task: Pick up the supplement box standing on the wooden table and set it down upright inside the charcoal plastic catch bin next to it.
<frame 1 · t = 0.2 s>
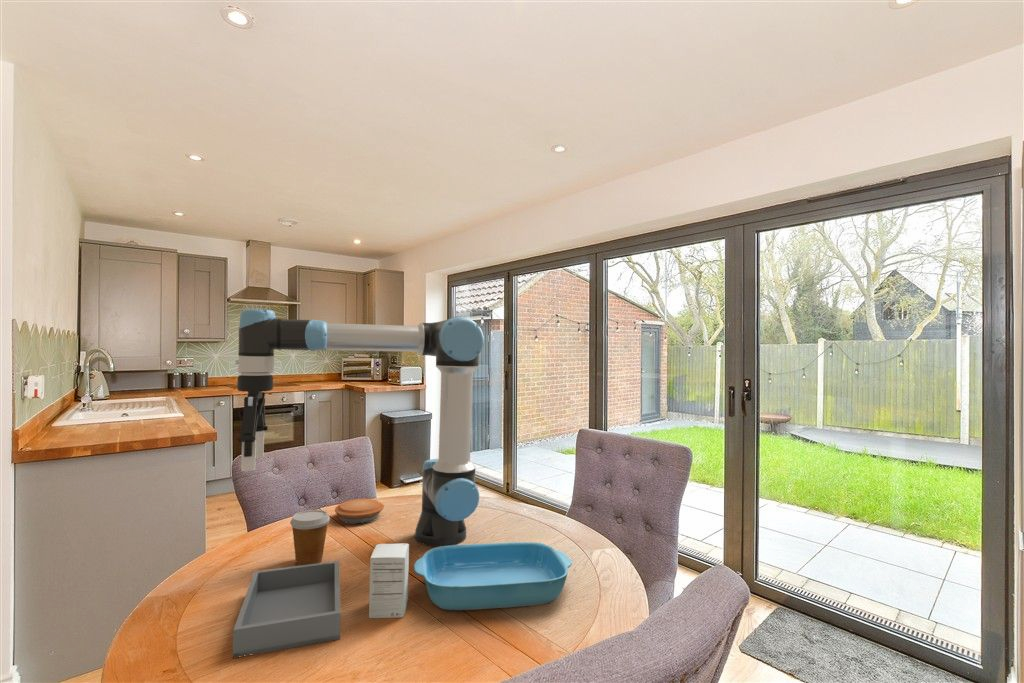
hand: (252, 463, 114), 28 cm above the table, tool pointing down, fingers open, 13 cm apart
casserole dish: (493, 591, 112), on the table
disposable coffee cup: (309, 562, 125), on the table
catch bin: (293, 614, 100), on the table
pie: (359, 518, 158), on the table
supplement box: (388, 610, 102), on the table
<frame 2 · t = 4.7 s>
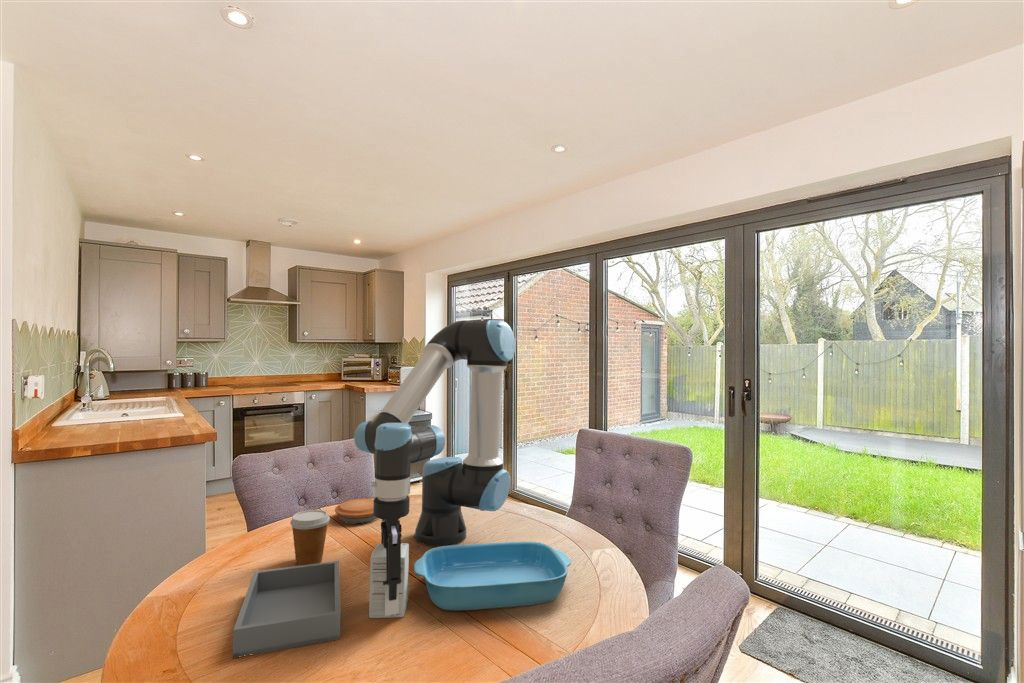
hand: (389, 602, 102), 1 cm above the table, tool pointing down, fingers closed on supplement box, 8 cm apart
supplement box: (388, 610, 102), on the table, touching gripper
everything else where it was.
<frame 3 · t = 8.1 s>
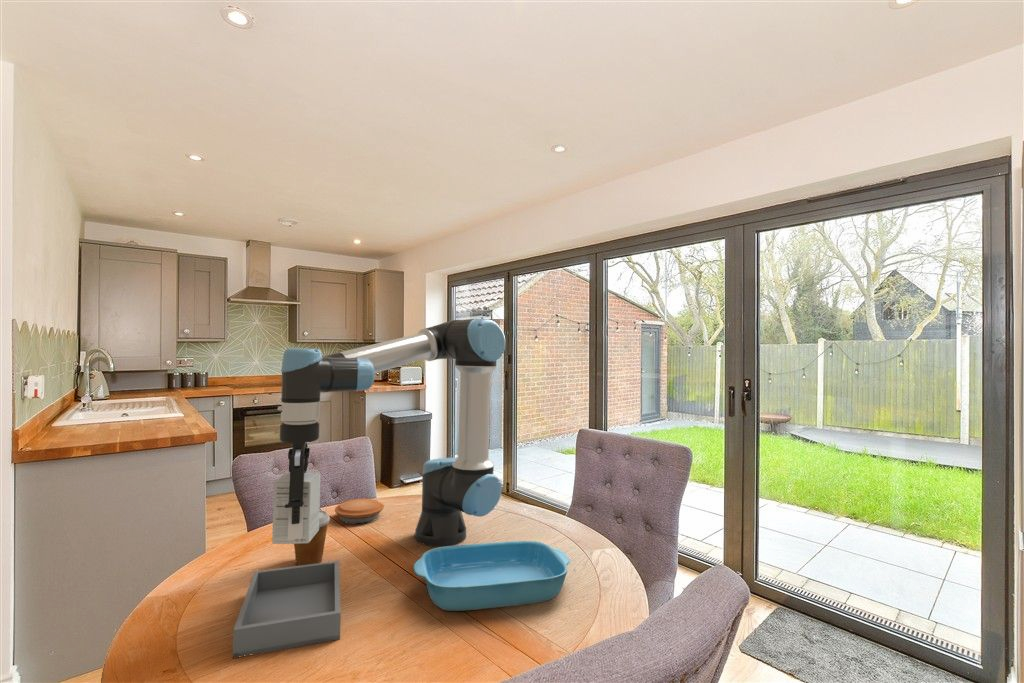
hand: (296, 530, 100), 17 cm above the table, tool pointing down, fingers closed on supplement box, 8 cm apart
supplement box: (296, 538, 100), point 16 cm above the table, touching gripper
everything else where it was.
when the fingers open (3 cm above the table, at t = 11.6 s): supplement box drops 1 cm, resting on catch bin.
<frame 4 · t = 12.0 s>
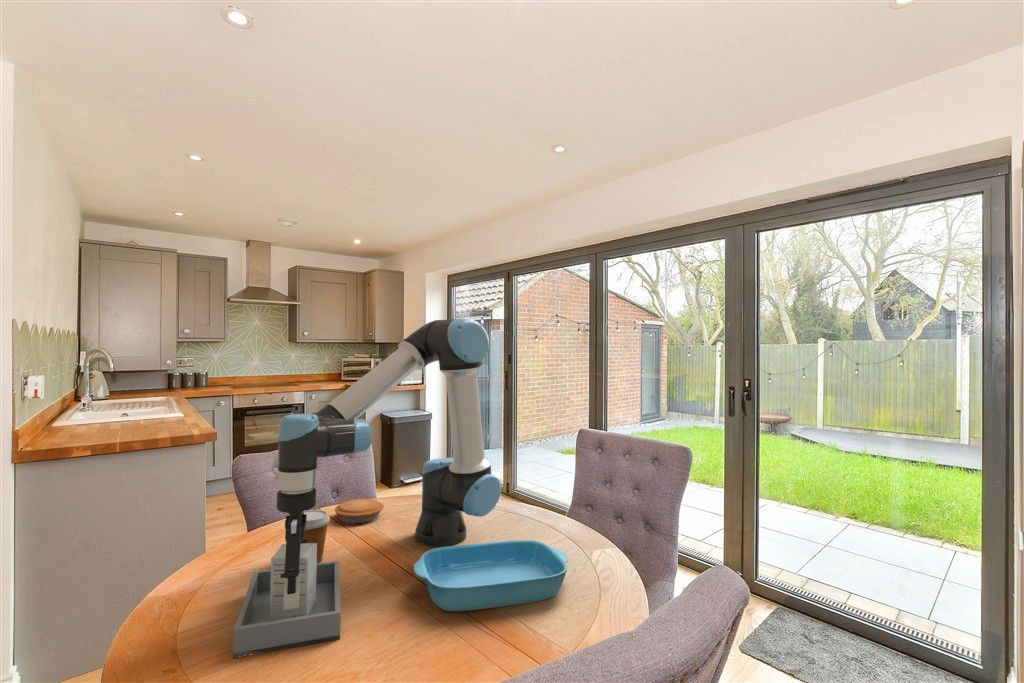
hand: (293, 592, 100), 5 cm above the table, tool pointing down, fingers open, 13 cm apart
supplement box: (293, 612, 99), point 1 cm above the table, touching catch bin
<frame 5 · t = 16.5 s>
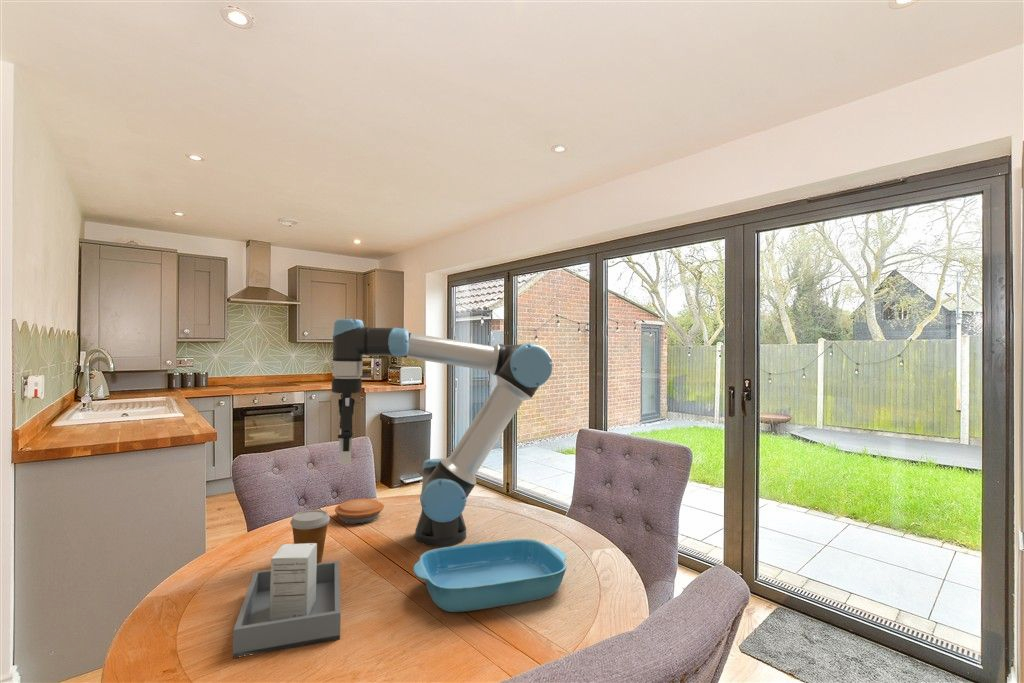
hand: (344, 458, 126), 27 cm above the table, tool pointing down, fingers open, 13 cm apart
at the end: supplement box inside the target area on the catch bin (0.2 cm from its centre), point 0.6 cm above the catch bin's base; supplement box tilted 0°; the gripper is holding nothing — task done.
